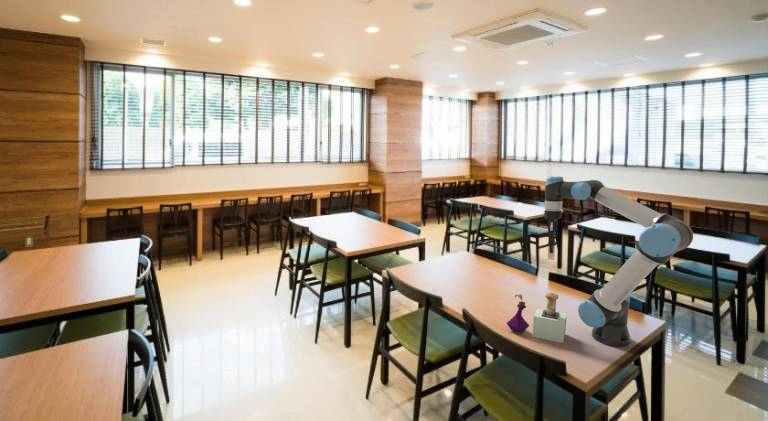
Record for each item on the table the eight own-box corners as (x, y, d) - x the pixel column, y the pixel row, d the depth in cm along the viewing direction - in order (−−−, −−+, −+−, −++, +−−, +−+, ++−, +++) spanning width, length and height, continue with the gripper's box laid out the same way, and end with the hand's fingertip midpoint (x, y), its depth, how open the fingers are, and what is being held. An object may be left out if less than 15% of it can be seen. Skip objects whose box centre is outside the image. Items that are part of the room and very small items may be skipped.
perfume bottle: (529, 331, 189) (531, 295, 186) (518, 335, 185) (520, 298, 182) (516, 325, 195) (518, 290, 192) (505, 329, 191) (507, 293, 188)
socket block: (565, 334, 186) (566, 312, 185) (563, 343, 178) (565, 320, 176) (535, 327, 193) (537, 307, 191) (532, 336, 184) (533, 314, 182)
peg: (557, 314, 185) (559, 294, 183) (556, 319, 180) (557, 298, 178) (544, 312, 187) (546, 292, 186) (543, 316, 183) (544, 295, 181)
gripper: (545, 207, 193) (543, 255, 196) (543, 211, 181) (541, 261, 185) (562, 208, 189) (560, 256, 193) (561, 212, 178) (558, 263, 181)
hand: (550, 259), depth 189 cm, fingers closed
